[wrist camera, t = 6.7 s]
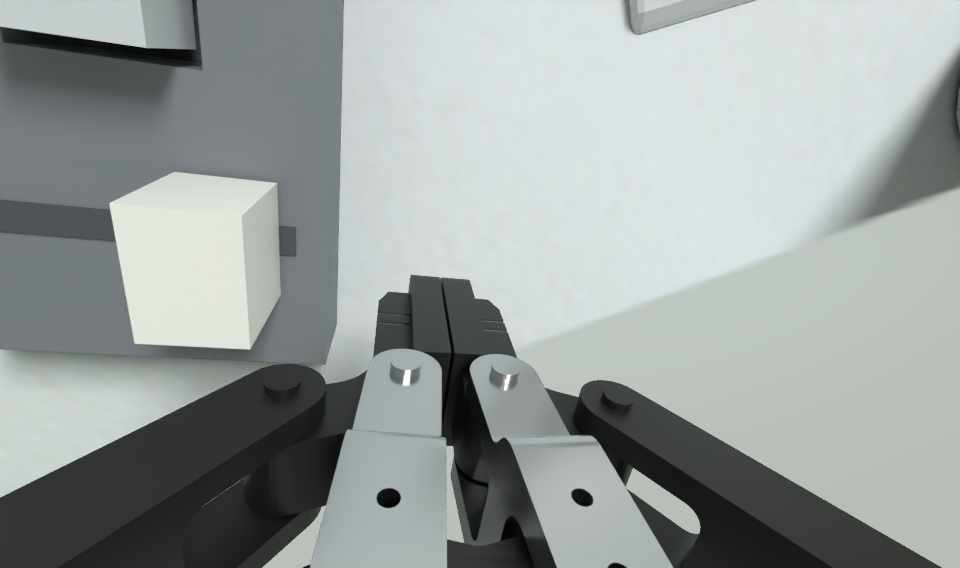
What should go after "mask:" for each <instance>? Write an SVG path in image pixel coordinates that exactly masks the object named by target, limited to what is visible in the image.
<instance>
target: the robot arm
mask: <svg viewBox="0 0 960 568" xmlns="http://www.w3.org/2000/svg"><path fill="white" fill-rule="evenodd" d="M957 120H958V126H959V133H960V88H959V91H958V103H957ZM446 446H453V447H454V459H453V464H452V469H451V480H452V484H453V490H454V494H455V499H456V504H457V509H458V514H459V519H460V524H461V529H462V533H463V538H464V543H460V542H456V541H451V540H447V493H446V492H447V488H446V487H447V486H446V483H447V482H446ZM633 468H635V469H636V470H638V471H639V472H641V473H642V474H643V475H645V476H647V477H648V478H649V479H651V480H652V481H654V482H655V483H657V484H658V485H660V486H661V487H662V488H664V489H665V490H667V491H669V492H670V493H671V494H673V495H674V496H676V497H677V498H679V499H680V500H682V501H683V502H685V503H686V504H687V505H688V506H690V507H691V508H692V509H693V510H694V512H695V513H696V515H697V517H698V519H699V521H700V526H701V528H700V533H699V534H692V533H689V532H687V531H685V530H684V529H682V528H681V527H679V526H678V525H676V524H675V523H674V522H672V521H671V520H670V519H668V518H667V517H665V516H664V515H663V514H661V513H660V512H658V511H657V510H656V509H654V508H653V507H651V506H650V505H648V504H647V503H646V502H644V501H643V500H641V499H640V498H639V497H637V496H636V495H635V494H633V493H632V492H630V491H629V490H628V489H626V484H627V482H628V479H629V476H630V474H631V471H632V469H633ZM241 479H242V480H241ZM239 480H240V481H239ZM238 481H239V482H238ZM237 482H238V483H237ZM235 483H236V484H235ZM234 484H235V485H234ZM232 485H233V486H232ZM231 486H232V487H231ZM229 487H230V488H229ZM228 488H229V489H228ZM226 489H227V490H226ZM225 490H226V491H225ZM222 492H223V493H222ZM221 493H222V494H221ZM219 494H220V495H219ZM218 495H219V496H218ZM216 496H217V497H216ZM215 497H216V498H215ZM212 499H213V500H212ZM209 501H210V502H209ZM208 502H209V503H208ZM206 503H207V504H206ZM205 504H206V505H205ZM325 505H326V509H325V512H324V516H323V519H322V524H321V527H320V531H319V534H318V538H317V542H316V546H315V550H314V554H313V557H312V561H311V564H310V565H308V566H305V567H303V568H941V567H940V566H938V565H936V564H934V563H933V562H931V561H929V560H927V559H926V558H924V557H922V556H920V555H919V554H917V553H915V552H914V551H912V550H910V549H908V548H906V547H905V546H903V545H901V544H900V543H898V542H896V541H894V540H893V539H891V538H889V537H888V536H886V535H884V534H882V533H881V532H879V531H877V530H875V529H874V528H872V527H870V526H868V525H866V524H865V523H863V522H862V521H860V520H858V519H856V518H855V517H853V516H851V515H849V514H848V513H846V512H844V511H842V510H841V509H839V508H837V507H836V506H834V505H832V504H830V503H828V502H827V501H825V500H823V499H822V498H820V497H818V496H816V495H815V494H813V493H811V492H809V491H808V490H806V489H804V488H803V487H801V486H799V485H797V484H795V483H794V482H792V481H790V480H789V479H787V478H785V477H783V476H782V475H780V474H778V473H777V472H775V471H773V470H771V469H770V468H768V467H766V466H764V465H763V464H761V463H759V462H757V461H756V460H754V459H752V458H751V457H749V456H747V455H745V454H744V453H742V452H740V451H738V450H737V449H735V448H733V447H731V446H730V445H728V444H726V443H724V442H723V441H721V440H719V439H718V438H716V437H714V436H712V435H711V434H709V433H707V432H705V431H704V430H702V429H700V428H698V427H697V426H695V425H693V424H692V423H690V422H688V421H686V420H685V419H683V418H681V417H679V416H677V415H676V414H674V413H672V412H671V411H669V410H667V409H665V408H664V407H662V406H660V405H659V404H657V403H655V402H653V401H652V400H650V399H648V398H646V397H645V396H643V395H641V394H639V393H638V392H636V391H634V390H632V389H630V388H629V387H627V386H624V385H622V384H619V383H615V382H611V381H604V380H597V381H591V382H589V383H587V384H585V385H584V386H583V387H582V388H581V391H580V394H579V397H575V396H571V395H568V394H564V393H560V392H556V391H553V390H550V389H547V388H545V387H544V385H543V384H542V382H541V380H540V378H539V376H538V374H537V373H536V371H535V370H534V369H533V368H532V367H531V366H530V365H529V364H527V363H525V362H524V361H522V360H520V359H518V358H517V357H516V354H515V351H514V348H513V346H512V343H511V340H510V338H509V335H508V332H507V330H506V327H505V324H504V323H503V319H502V316H501V313H500V311H499V309H498V308H496V307H495V306H494V305H493V304H492V303H491V302H490V301H489V300H485V299H475V297H474V294H473V291H472V287H471V284H470V281H469V280H465V279H453V278H442V277H441V279H440V278H439V277H430V276H418V275H411V277H410V283H409V292H408V293H397V292H388V293H387V294H386V295H385V296H384V297H383V298H382V299H380V300H379V306H378V316H377V326H376V336H375V346H374V355H373V358H372V359H371V361H370V362H369V365H368V369H367V370H366V371H365V372H364V373H363V374H361V375H359V376H358V377H355V378H353V379H350V380H347V381H343V382H338V383H332V384H326V383H325V380H324V378H323V376H322V375H321V374H320V373H318V372H317V371H315V370H314V369H311V368H309V367H306V366H302V365H296V364H280V365H273V366H268V367H265V368H262V369H259V370H257V371H255V372H253V373H251V374H249V375H247V376H245V377H243V378H241V379H239V380H237V381H235V382H233V383H231V384H228V385H226V386H224V387H222V388H220V389H218V390H216V391H214V392H212V393H210V394H208V395H206V396H204V397H202V398H200V399H198V400H196V401H194V402H192V403H190V404H188V405H186V406H184V407H182V408H180V409H178V410H176V411H174V412H172V413H170V414H168V415H166V416H164V417H162V418H160V419H158V420H156V421H154V422H152V423H150V424H148V425H146V426H144V427H142V428H140V429H138V430H136V431H134V432H132V433H130V434H128V435H126V436H124V437H122V438H120V439H118V440H116V441H114V442H112V443H110V444H108V445H106V446H104V447H102V448H100V449H98V450H95V451H93V452H91V453H89V454H87V455H85V456H83V457H81V458H79V459H77V460H75V461H73V462H71V463H69V464H67V465H65V466H63V467H61V468H59V469H57V470H55V471H53V472H51V473H49V474H47V475H45V476H43V477H41V478H39V479H37V480H35V481H33V482H31V483H29V484H27V485H25V486H23V487H21V488H19V489H17V490H15V491H13V492H11V493H9V494H7V495H5V496H3V497H1V498H0V568H262V567H263V566H264V565H265V564H266V563H268V562H269V561H270V560H271V559H272V558H273V557H274V556H275V555H277V553H279V552H280V551H281V550H282V549H283V548H284V547H285V546H286V545H288V544H289V543H290V542H291V541H292V540H293V539H294V538H296V537H297V536H298V535H299V534H300V533H301V532H302V531H303V530H304V529H306V528H307V527H308V526H309V525H310V524H311V523H312V522H313V521H314V520H315V518H316V517H317V516H318V514H319V512H320V510H321V507H322V506H325ZM202 506H203V507H202Z"/></svg>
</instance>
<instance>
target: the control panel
mask: <svg viewBox="0 0 960 568" xmlns="http://www.w3.org/2000/svg"><path fill="white" fill-rule="evenodd" d="M343 10H344V0H197V11H198V22H199V34H200V45H201V57H202V63H196V62H189V61H182V60H175V59H168V58H161V57H154V56H147V55H141V54H134V53H127V52H120V51H113V50H106V49H99V48H92V47H85V46H78V45H74V42H73V37H68V36H61V35H55V34H48V33H41V32H34V31H27V30H21V29H14V28H7V27H0V349H5V350H26V351H48V352H69V353H90V354H112V355H133V356H154V357H175V358H197V359H218V360H239V361H260V362H282V363H303V364H324V365H325V363H326V360H327V356H328V353H329V349H330V346H331V342H332V339H333V336H334V332H335V329H336V323H337V278H338V234H339V189H340V144H341V99H342V54H343ZM173 172H181V173H190V174H199V175H209V176H218V177H227V178H236V179H246V180H255V181H264V182H274V183H277V192H278V224H279V255H280V286H281V295H280V297H279V299H278V301H277V303H276V304H275V306H274V308H273V310H272V311H271V313H270V315H269V317H268V319H267V320H266V322H265V324H264V326H263V328H262V329H261V331H260V333H259V335H258V336H257V338H256V340H255V342H254V344H253V345H252V347H251V349H250V350H249V349H229V348H210V347H190V346H170V345H151V344H135V343H134V338H133V332H132V327H131V321H130V316H129V310H128V305H127V299H126V294H125V288H124V283H123V277H122V272H121V266H120V261H119V255H118V250H117V244H116V238H115V233H114V227H113V222H112V216H111V211H110V205H109V203H111V202H113V201H115V200H117V199H119V198H121V197H123V196H125V195H127V194H129V193H131V192H133V191H135V190H138V189H140V188H142V187H144V186H146V185H148V184H150V183H152V182H154V181H156V180H158V179H160V178H162V177H165V176H167V175H169V174H171V173H173Z"/></svg>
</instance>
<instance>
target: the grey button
mask: <svg viewBox="0 0 960 568" xmlns="http://www.w3.org/2000/svg"><path fill="white" fill-rule="evenodd" d="M0 27H7V28H14V29H21V30H27V31H34V32H41V33H48V34H55V35H61V36H68V37H75V38H82V39H89V40H96V41H102V42H109V43H116V44H123V45H130V46H136V47H143V48H164V49H196V39H195V28H194V17H193V6H192V0H0Z"/></svg>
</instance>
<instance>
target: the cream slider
mask: <svg viewBox="0 0 960 568" xmlns="http://www.w3.org/2000/svg"><path fill="white" fill-rule="evenodd" d="M109 205H110V211H111V216H112V222H113V227H114V233H115V238H116V244H117V250H118V255H119V261H120V266H121V272H122V277H123V283H124V288H125V294H126V299H127V305H128V310H129V316H130V321H131V327H132V332H133V338H134V343H135V344H151V345H170V346H190V347H210V348H229V349H249V350H250V349H251V347H252V345H253V344H254V342H255V340H256V338H257V336H258V335H259V333H260V331H261V329H262V328H263V326H264V324H265V322H266V320H267V319H268V317H269V315H270V313H271V311H272V310H273V308H274V306H275V304H276V303H277V301H278V299H279V297H280V295H281V286H280V255H279V224H278V192H277V183H274V182H264V181H255V180H246V179H236V178H227V177H218V176H209V175H199V174H190V173H181V172H173V173H171V174H169V175H167V176H165V177H162V178H160V179H158V180H156V181H154V182H152V183H150V184H148V185H146V186H144V187H142V188H140V189H138V190H135V191H133V192H131V193H129V194H127V195H125V196H123V197H121V198H119V199H117V200H115V201H113V202H111V203H109Z"/></svg>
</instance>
